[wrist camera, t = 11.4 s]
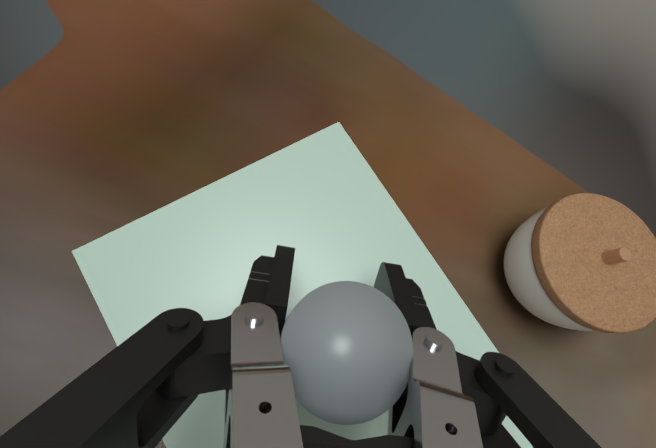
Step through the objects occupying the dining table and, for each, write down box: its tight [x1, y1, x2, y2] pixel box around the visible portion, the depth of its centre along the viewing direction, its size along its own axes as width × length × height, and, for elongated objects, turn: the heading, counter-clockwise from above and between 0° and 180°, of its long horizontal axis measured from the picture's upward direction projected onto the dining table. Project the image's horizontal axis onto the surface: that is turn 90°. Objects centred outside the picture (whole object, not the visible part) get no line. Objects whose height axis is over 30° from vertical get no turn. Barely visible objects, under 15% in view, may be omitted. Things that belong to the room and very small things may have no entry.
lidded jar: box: [504, 193, 656, 333], centre depth 30 cm, size 11×11×9 cm
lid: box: [72, 122, 533, 448], centre depth 14 cm, size 18×14×9 cm
